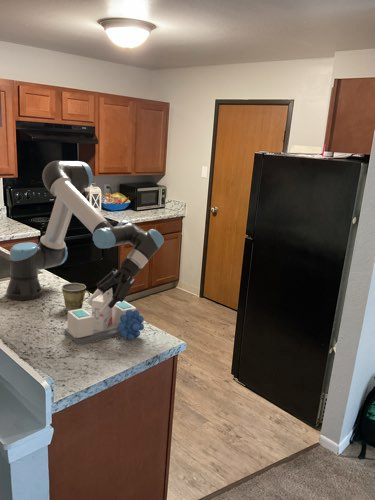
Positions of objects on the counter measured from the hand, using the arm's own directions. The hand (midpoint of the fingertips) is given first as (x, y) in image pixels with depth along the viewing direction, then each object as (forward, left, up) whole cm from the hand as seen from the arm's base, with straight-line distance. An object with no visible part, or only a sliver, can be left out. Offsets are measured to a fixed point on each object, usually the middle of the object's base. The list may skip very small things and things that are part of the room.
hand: (95, 308), depth 157 cm
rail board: (0, +3, -10) cm, 10 cm away
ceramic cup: (-25, +4, -10) cm, 27 cm away
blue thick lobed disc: (+12, +9, -10) cm, 18 cm away
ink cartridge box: (0, +3, -8) cm, 9 cm away
